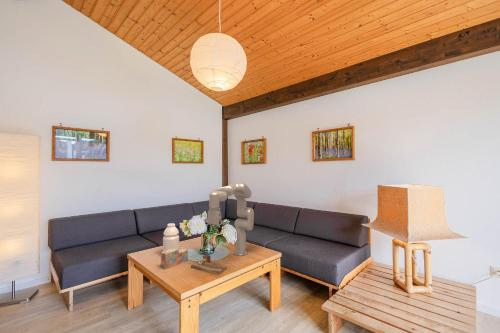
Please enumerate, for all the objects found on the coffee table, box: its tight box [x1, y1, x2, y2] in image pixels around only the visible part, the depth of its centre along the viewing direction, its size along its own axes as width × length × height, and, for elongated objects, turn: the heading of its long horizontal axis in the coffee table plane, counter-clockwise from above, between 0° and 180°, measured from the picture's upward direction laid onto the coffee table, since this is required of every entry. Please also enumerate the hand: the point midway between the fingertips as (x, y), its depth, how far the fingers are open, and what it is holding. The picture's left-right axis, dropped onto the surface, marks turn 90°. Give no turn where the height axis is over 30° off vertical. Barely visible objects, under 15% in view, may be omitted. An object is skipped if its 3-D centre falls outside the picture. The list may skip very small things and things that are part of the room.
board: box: [190, 260, 227, 275], centre depth 184 cm, size 11×26×2 cm, turn 66°
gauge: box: [198, 254, 211, 265], centre depth 191 cm, size 12×5×6 cm, turn 156°
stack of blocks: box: [160, 248, 189, 270], centre depth 191 cm, size 21×6×12 cm, turn 143°
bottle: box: [162, 222, 180, 252], centre depth 210 cm, size 14×14×28 cm
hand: (214, 232), depth 175 cm, fingers open, 9 cm apart
